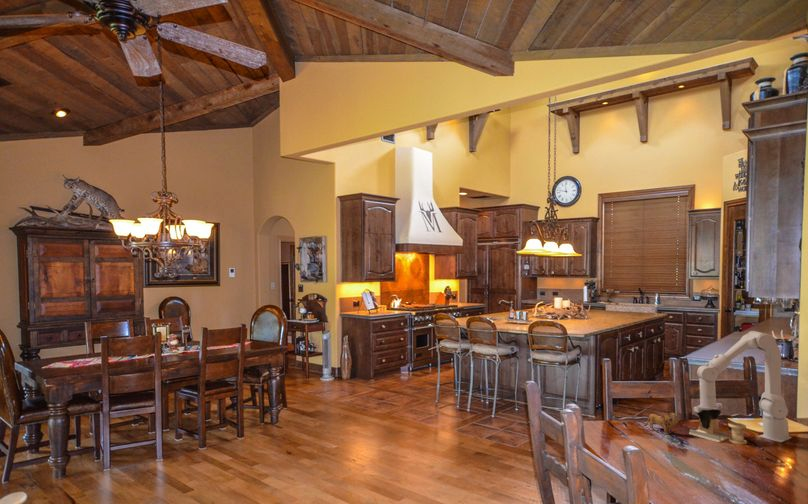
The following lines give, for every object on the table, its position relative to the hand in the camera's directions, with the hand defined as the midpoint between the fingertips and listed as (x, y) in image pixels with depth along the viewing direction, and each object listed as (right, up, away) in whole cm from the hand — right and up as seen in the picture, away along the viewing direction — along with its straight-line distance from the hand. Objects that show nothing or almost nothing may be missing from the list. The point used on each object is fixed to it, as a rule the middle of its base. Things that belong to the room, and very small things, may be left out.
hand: (708, 427), depth 206 cm
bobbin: (+7, -3, -8) cm, 11 cm away
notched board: (0, -4, 0) cm, 4 cm away
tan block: (0, -2, 0) cm, 2 cm away
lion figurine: (-16, -4, +7) cm, 18 cm away
